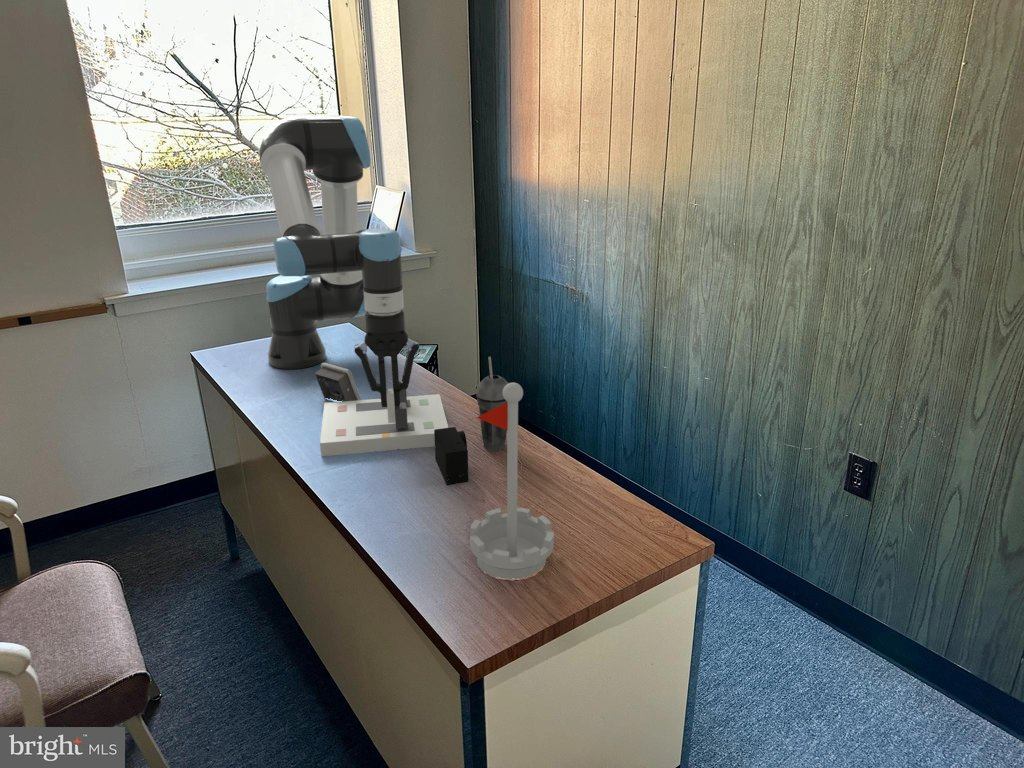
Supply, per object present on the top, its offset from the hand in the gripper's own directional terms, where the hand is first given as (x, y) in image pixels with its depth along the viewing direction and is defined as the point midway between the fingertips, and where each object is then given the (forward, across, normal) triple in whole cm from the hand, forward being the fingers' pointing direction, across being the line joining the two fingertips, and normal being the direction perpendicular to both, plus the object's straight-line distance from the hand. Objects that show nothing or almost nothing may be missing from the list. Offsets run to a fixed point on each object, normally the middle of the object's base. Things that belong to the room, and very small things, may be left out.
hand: (391, 420), depth 144 cm
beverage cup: (+5, +20, -6) cm, 22 cm away
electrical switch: (+5, -12, +23) cm, 26 cm away
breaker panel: (+5, -2, +6) cm, 8 cm away
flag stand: (+5, +17, -44) cm, 47 cm away
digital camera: (+5, +11, -15) cm, 19 cm away
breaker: (+1, +2, +12) cm, 12 cm away
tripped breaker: (+1, +2, 0) cm, 2 cm away
